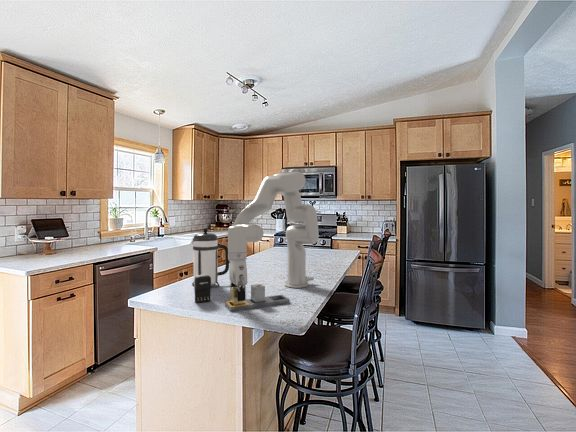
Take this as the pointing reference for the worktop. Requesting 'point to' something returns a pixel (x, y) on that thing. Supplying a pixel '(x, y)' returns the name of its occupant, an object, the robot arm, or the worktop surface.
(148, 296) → the worktop surface
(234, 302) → the wooden block with knob
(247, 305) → the grey block holder rack
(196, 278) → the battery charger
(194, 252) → the coffee press
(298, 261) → the robot arm
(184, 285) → the worktop surface
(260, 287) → the grey block with knob
